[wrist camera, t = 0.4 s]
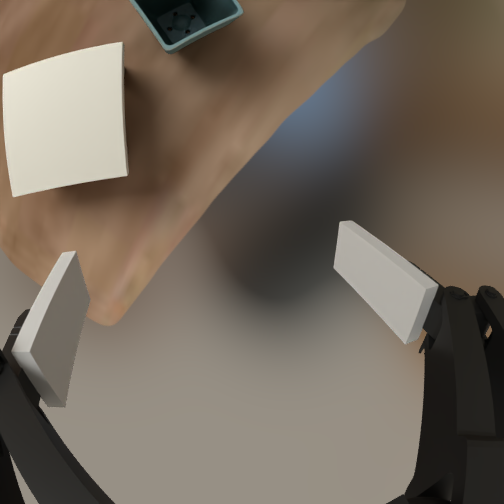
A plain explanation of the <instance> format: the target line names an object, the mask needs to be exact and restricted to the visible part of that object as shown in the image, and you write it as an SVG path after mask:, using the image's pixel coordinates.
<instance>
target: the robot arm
mask: <svg viewBox="0 0 504 504" xmlns="http://www.w3.org/2000/svg"><path fill="white" fill-rule="evenodd" d="M334 269H335V270H336V271H337V272H338V273H339V274H340V275H341V276H342V277H343V278H344V279H345V280H346V281H347V282H348V283H349V284H350V285H351V286H352V287H353V288H354V289H355V290H356V292H357V293H358V294H359V295H360V296H361V297H362V298H363V299H364V300H365V301H366V302H367V303H368V304H369V305H370V306H371V307H372V309H373V310H374V311H375V312H376V313H377V314H378V315H379V316H380V317H381V318H382V319H383V320H384V322H385V323H386V324H387V325H388V326H389V327H390V328H391V329H392V330H393V331H394V333H395V334H397V336H398V337H399V338H400V339H401V340H402V341H403V343H405V344H408V343H410V342H413V341H415V340H417V339H418V338H419V335H420V333H421V331H422V328H423V329H424V330H425V331H426V332H427V334H426V336H425V339H424V341H423V343H422V345H421V348H420V350H419V353H421V352H422V350H423V349H424V348H425V353H424V354H425V373H424V374H425V376H424V377H425V378H424V399H423V412H422V424H421V434H420V441H419V449H418V456H417V462H416V468H415V473H414V476H413V479H412V480H411V482H410V484H409V486H408V487H407V490H406V492H405V495H401V496H399V497H397V498H396V499H394V500H392V501H390V502H388V503H387V504H504V298H503V296H502V295H501V294H500V293H499V292H498V291H497V290H496V289H495V288H493V287H491V286H481V287H480V288H479V290H478V293H477V295H476V296H469V294H468V293H467V292H466V291H464V290H462V289H461V288H458V287H454V286H449V287H446V288H444V287H443V286H442V285H440V284H439V283H438V282H437V281H436V280H434V279H433V278H432V277H430V276H429V275H428V274H426V273H425V272H424V271H423V270H420V268H419V267H417V266H416V265H415V264H413V263H412V262H410V261H408V260H406V259H404V258H403V257H402V256H400V255H399V254H398V253H396V252H395V251H394V250H392V249H391V248H390V247H388V246H387V245H386V244H384V243H383V242H381V241H380V240H379V239H377V238H376V237H374V236H373V235H371V234H370V233H369V232H367V231H366V230H365V229H363V228H362V227H360V226H359V225H357V224H356V223H354V222H353V221H342V222H340V224H339V232H338V240H337V247H336V255H335V262H334ZM89 303H90V297H89V293H88V290H87V287H86V284H85V281H84V277H83V274H82V270H81V267H80V263H79V259H78V256H77V252H76V251H71V252H64V253H62V254H61V256H60V257H59V259H58V261H57V262H56V264H55V266H54V267H53V269H52V271H51V273H50V274H49V276H48V278H47V280H46V281H45V283H44V285H43V287H42V289H41V290H40V293H39V294H38V296H37V298H36V300H35V302H34V304H33V306H32V308H31V309H28V310H25V311H24V312H23V313H22V314H21V315H20V316H19V317H18V319H17V321H16V323H15V325H14V328H13V329H12V331H11V333H10V334H11V335H9V337H8V339H7V342H6V344H5V346H4V348H3V351H1V349H0V504H25V502H24V500H23V497H22V494H21V491H20V488H19V485H18V482H17V479H16V476H15V472H14V469H13V465H12V461H11V457H10V454H11V456H12V458H13V460H14V462H15V464H16V466H17V468H18V470H19V471H20V473H21V475H22V477H23V478H24V480H25V482H26V484H27V485H28V487H29V489H30V490H31V492H32V493H33V495H34V497H35V498H36V500H37V501H38V503H39V504H115V503H114V502H113V501H112V500H111V499H110V498H109V497H108V496H107V495H106V494H105V493H104V491H103V490H102V489H101V488H100V487H99V486H98V485H97V484H96V483H95V481H94V480H93V479H92V478H91V477H90V476H89V474H88V473H87V472H86V471H85V470H84V468H83V467H82V466H81V465H80V463H79V462H78V461H77V460H76V458H75V457H74V456H73V454H72V453H71V452H70V451H69V449H68V448H67V446H66V445H65V444H64V442H63V441H62V439H61V438H60V436H59V435H58V434H57V432H56V431H55V429H54V428H53V426H52V425H51V423H50V422H49V420H48V419H47V417H46V415H45V414H44V412H43V411H42V409H41V408H40V407H39V401H40V397H41V398H42V399H43V401H44V402H45V403H46V404H47V406H48V407H65V406H66V400H67V394H68V389H69V384H70V379H71V373H72V369H73V364H74V360H75V356H76V351H77V347H78V343H79V339H80V335H81V331H82V328H83V324H84V320H85V317H86V313H87V310H88V307H89ZM489 326H491V328H492V332H491V334H490V336H489V337H488V338H487V337H486V335H485V334H486V332H487V330H488V328H489ZM9 452H10V453H9ZM450 500H451V501H450Z"/></svg>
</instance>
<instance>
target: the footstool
mask: <svg viewBox="0 0 504 504" xmlns="http://www.w3.org/2000/svg"><path fill="white" fill-rule="evenodd" d="M124 74H125V68H124V44H123V42H118V43H112V44H106V45H101V46H96V47H91V48H87V49H82V50H78V51H74V52H70V53H66V54H62V55H59V56H55V57H52V58H49V59H45V60H42V61H39V62H36V63H33V64H30V65H27V66H24V67H21V68H19V69H16V70H13V71H11V72H8V73H6V74H3V121H4V136H5V147H6V156H7V164H8V171H9V177H10V184H11V189H12V195H13V197H16V196H20V195H25V194H29V193H33V192H38V191H43V190H47V189H52V188H57V187H63V186H68V185H73V184H79V183H84V182H90V181H96V180H103V179H109V178H116V177H123V176H127V175H128V174H129V167H128V156H127V155H128V148H127V144H126V128H125V107H124Z"/></svg>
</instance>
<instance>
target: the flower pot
mask: <svg viewBox="0 0 504 504" xmlns="http://www.w3.org/2000/svg"><path fill="white" fill-rule="evenodd" d="M129 1H130V2H131V3H132V5H133V6H134V7H135V9H136V10H137V12H138V13H139V14H140V16H141V17H142V19H143V20H144V22H145V23H146V24H147V26H148V27H149V29H150V30H151V31H152V33H153V34H154V36H155V37H156V38H157V40H158V41H159V43H160V44H161V46H162V47H163V49H164V50H165V51H166V53H168V54H173V53H175V52H176V51H178V50H180V49H182V48H183V47H185V46H187V45H189V44H191V43H192V42H194V41H196V40H198V39H200V38H202V37H204V36H206V35H208V34H210V33H212V32H214V31H216V30H218V29H220V28H222V27H225V26H227V25H228V24H230V23H231V22H233V21H234V20H235V19H237V18H238V17H239V16H241V15H242V14H243V13H244V11H243V9H242V7H241V5H240V4H239V3H238V1H237V0H129ZM173 13H177V15H176V16H174V15H173ZM192 15H193V16H195V18H194V19H191V16H192ZM168 28H172V30H171V31H169V30H168ZM187 30H189V31H190V33H188V34H187V33H186V31H187Z"/></svg>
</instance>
